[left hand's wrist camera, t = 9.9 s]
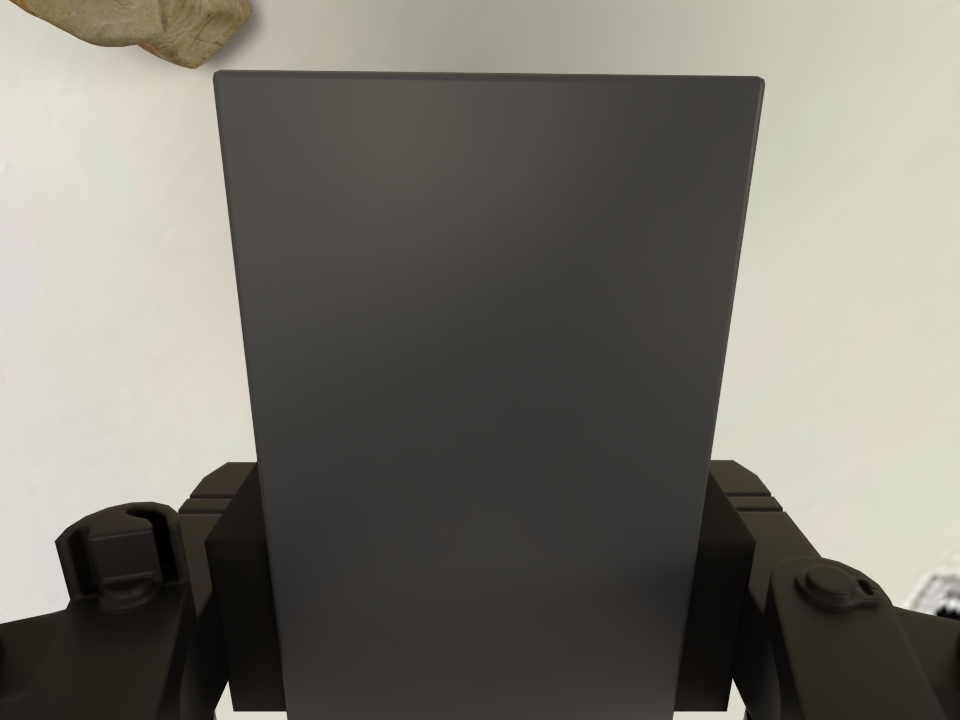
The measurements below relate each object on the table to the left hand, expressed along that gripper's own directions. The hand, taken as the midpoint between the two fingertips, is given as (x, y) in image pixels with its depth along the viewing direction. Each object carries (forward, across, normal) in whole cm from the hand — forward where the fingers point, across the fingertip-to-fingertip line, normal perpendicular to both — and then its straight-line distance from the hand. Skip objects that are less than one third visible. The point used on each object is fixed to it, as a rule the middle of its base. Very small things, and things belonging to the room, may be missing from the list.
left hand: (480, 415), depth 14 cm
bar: (0, 0, -33) cm, 33 cm away
